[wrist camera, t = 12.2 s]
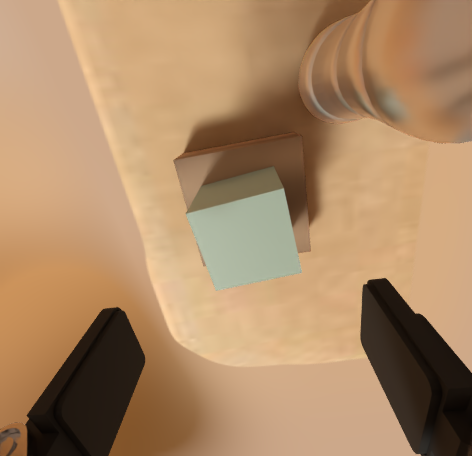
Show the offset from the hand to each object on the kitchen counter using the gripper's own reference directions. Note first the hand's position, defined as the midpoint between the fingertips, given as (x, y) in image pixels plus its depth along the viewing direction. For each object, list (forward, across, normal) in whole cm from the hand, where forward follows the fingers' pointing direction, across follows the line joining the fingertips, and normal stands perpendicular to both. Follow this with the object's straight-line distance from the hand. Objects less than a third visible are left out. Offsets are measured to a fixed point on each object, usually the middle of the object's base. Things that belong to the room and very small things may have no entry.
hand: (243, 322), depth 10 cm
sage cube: (+13, 0, 0) cm, 13 cm away
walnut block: (+17, 0, 0) cm, 17 cm away
